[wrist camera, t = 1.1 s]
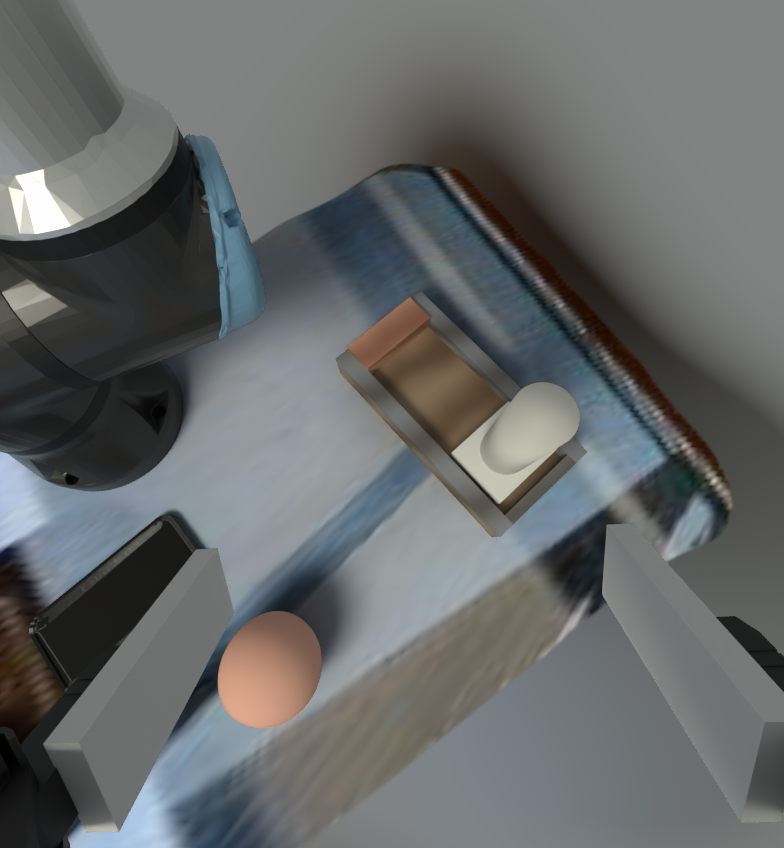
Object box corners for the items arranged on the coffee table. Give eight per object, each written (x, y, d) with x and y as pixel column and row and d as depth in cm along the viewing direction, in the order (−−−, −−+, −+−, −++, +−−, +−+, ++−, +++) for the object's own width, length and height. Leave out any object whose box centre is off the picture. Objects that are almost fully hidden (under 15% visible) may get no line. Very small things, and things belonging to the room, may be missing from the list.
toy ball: (247, 602, 39) (211, 615, 31) (333, 607, 39) (317, 622, 31) (233, 703, 37) (190, 743, 29) (323, 709, 37) (304, 752, 29)
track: (340, 372, 45) (335, 356, 41) (418, 309, 47) (420, 288, 43) (491, 537, 40) (501, 536, 36) (572, 459, 42) (589, 450, 38)
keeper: (449, 455, 40) (472, 416, 28) (504, 406, 41) (549, 348, 29) (496, 504, 39) (541, 486, 27) (551, 452, 40) (618, 411, 28)
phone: (24, 625, 38) (167, 509, 41) (34, 623, 39) (173, 510, 42) (69, 702, 36) (215, 576, 39) (79, 697, 37) (220, 575, 40)
